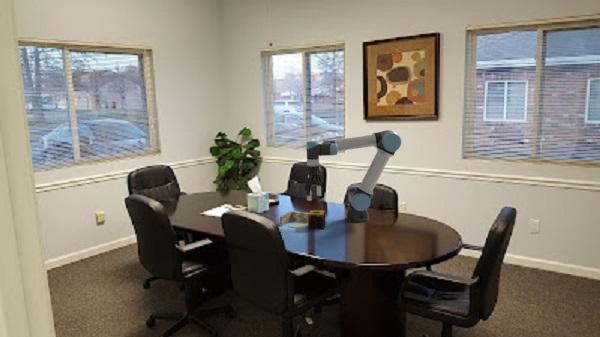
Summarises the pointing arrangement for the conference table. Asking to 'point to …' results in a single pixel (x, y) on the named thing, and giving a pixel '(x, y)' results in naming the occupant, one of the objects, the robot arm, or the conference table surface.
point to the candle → (316, 219)
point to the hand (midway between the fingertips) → (314, 198)
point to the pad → (299, 225)
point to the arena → (293, 217)
